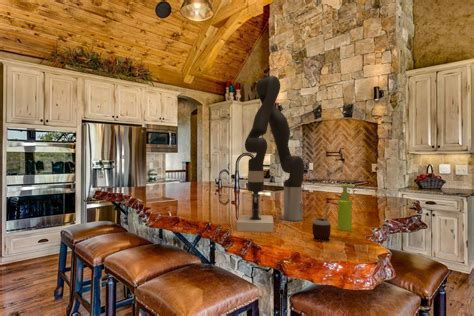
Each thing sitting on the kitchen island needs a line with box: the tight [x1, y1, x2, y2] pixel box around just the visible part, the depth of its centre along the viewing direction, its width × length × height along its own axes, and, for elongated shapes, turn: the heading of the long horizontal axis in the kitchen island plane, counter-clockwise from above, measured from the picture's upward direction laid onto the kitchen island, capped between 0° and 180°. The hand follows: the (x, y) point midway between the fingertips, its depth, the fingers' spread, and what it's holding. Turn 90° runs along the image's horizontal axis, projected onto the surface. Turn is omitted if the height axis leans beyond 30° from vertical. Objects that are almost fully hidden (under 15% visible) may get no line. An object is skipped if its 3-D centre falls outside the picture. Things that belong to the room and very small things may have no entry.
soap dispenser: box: [337, 185, 355, 232], centre depth 133 cm, size 6×7×20 cm
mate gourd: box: [311, 201, 333, 243], centre depth 118 cm, size 8×8×15 cm
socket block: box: [236, 214, 274, 233], centre depth 137 cm, size 16×16×4 cm
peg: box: [251, 204, 260, 220], centre depth 137 cm, size 4×4×8 cm
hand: (255, 217), depth 137 cm, fingers closed on peg, 3 cm apart
